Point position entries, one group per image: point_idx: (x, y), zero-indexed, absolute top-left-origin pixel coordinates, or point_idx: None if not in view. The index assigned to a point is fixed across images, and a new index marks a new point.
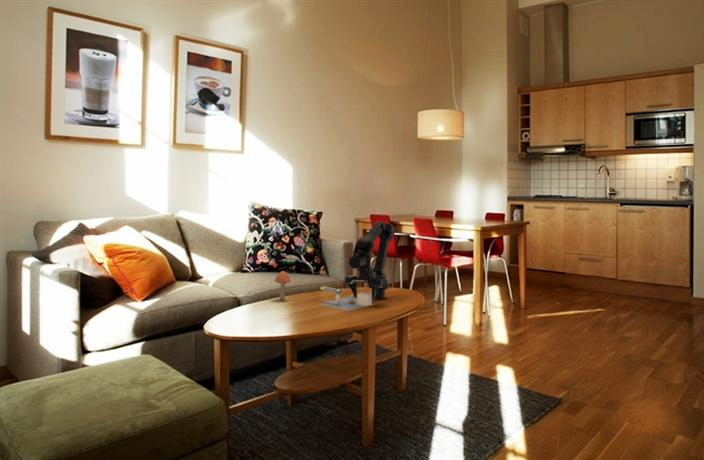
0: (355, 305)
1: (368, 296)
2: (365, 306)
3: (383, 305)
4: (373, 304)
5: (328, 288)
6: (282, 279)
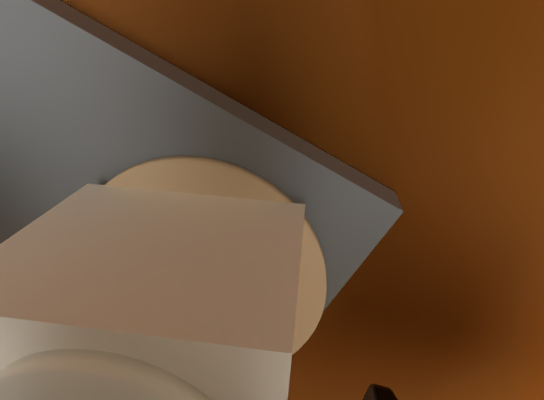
0: None
1: None
2: None
3: (535, 57)
4: (353, 252)
5: None
6: None
